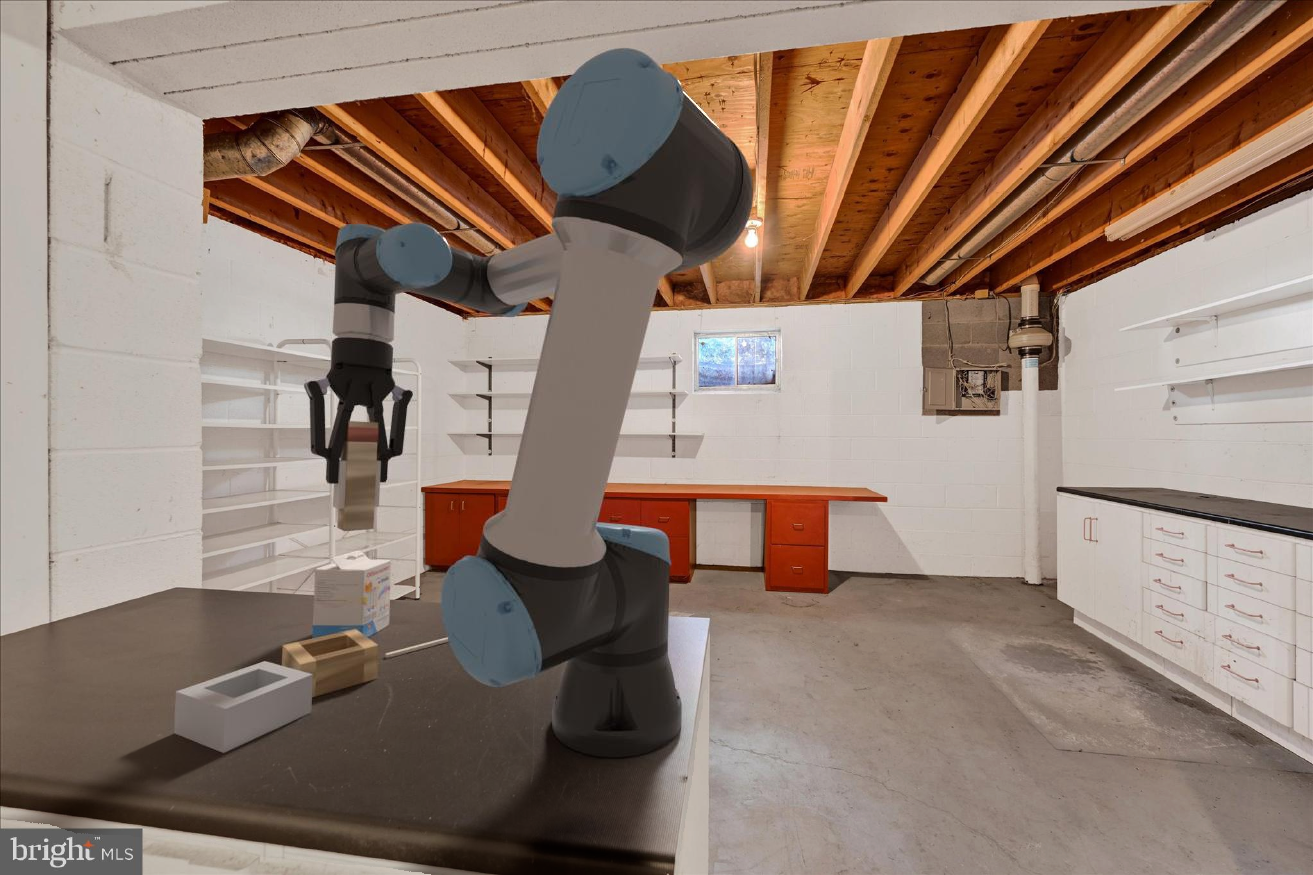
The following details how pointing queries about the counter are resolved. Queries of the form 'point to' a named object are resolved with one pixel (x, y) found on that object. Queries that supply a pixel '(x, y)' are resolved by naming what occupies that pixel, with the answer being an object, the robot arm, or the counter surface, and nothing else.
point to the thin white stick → (416, 647)
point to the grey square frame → (242, 705)
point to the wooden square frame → (334, 660)
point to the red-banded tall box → (359, 476)
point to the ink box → (351, 595)
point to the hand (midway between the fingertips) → (356, 506)
